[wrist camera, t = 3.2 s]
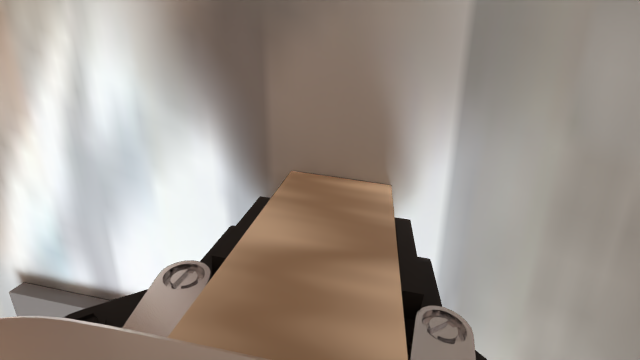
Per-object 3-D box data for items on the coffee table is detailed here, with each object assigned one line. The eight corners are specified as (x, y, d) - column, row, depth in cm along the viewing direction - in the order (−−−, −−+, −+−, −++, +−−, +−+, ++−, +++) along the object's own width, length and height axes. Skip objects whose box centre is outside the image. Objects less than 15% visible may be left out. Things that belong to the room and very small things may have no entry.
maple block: (391, 185, 13) (427, 536, 3) (375, 270, 14) (371, 670, 5) (290, 170, 13) (86, 442, 4) (285, 254, 15) (129, 592, 5)
